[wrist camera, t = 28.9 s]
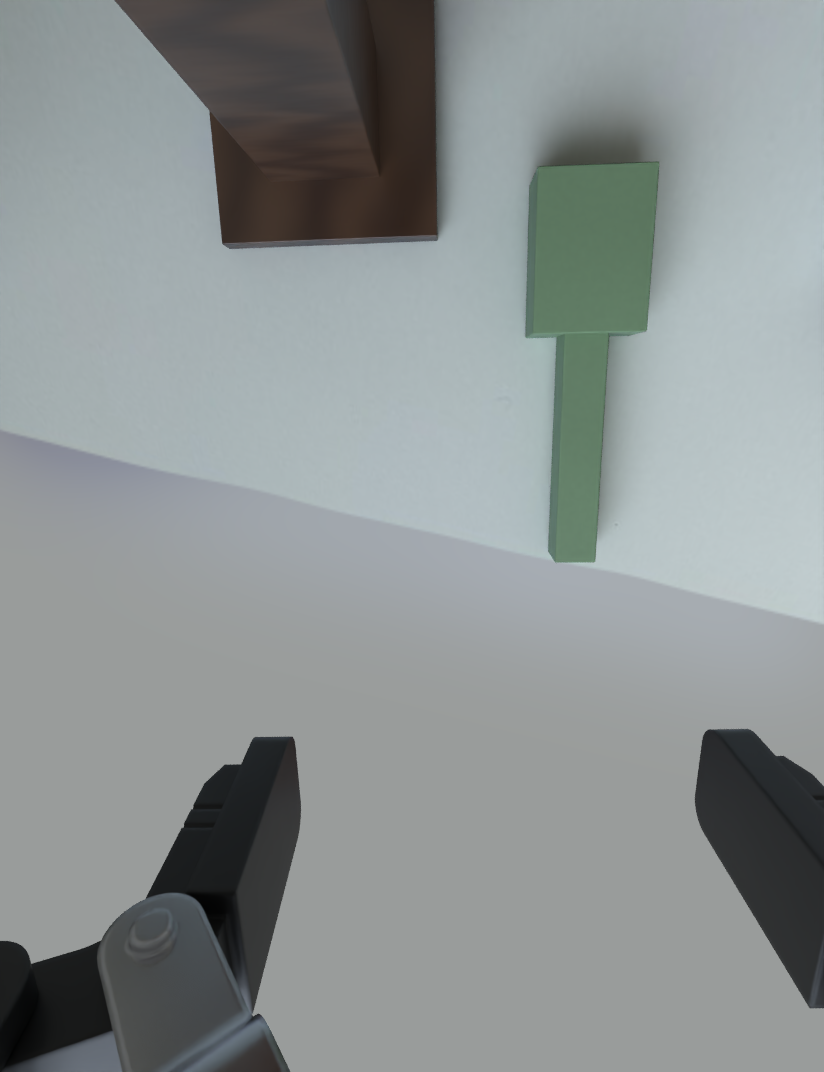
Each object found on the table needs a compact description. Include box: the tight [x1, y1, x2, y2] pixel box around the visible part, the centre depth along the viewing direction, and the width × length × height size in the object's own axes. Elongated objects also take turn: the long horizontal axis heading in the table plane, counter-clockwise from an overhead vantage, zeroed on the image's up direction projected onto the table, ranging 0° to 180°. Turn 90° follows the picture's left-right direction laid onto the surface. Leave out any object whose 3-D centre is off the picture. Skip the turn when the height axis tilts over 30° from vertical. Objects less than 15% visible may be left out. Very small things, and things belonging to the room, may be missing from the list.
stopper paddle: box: [525, 162, 659, 562], centre depth 33 cm, size 6×21×3 cm, turn 1°
